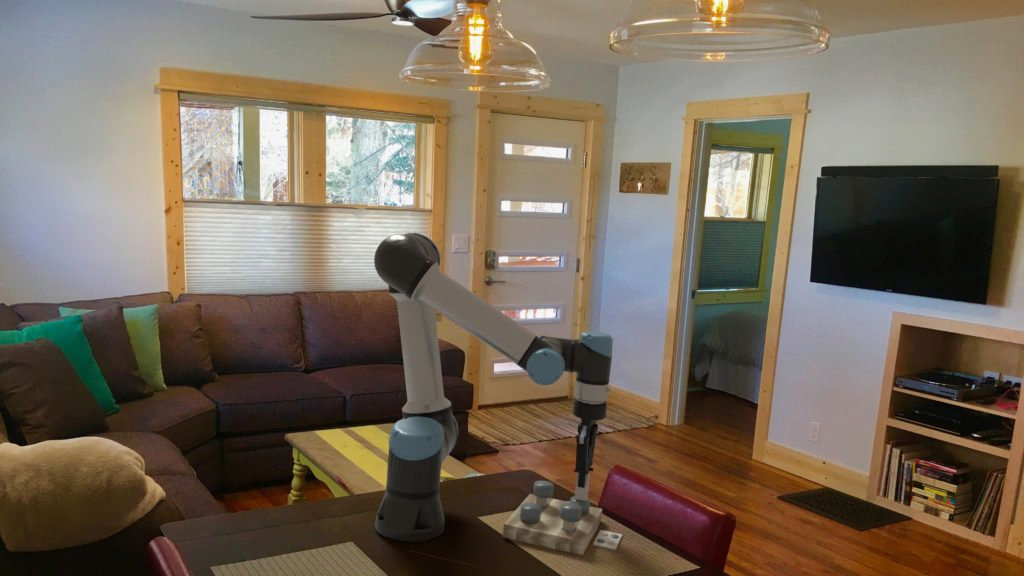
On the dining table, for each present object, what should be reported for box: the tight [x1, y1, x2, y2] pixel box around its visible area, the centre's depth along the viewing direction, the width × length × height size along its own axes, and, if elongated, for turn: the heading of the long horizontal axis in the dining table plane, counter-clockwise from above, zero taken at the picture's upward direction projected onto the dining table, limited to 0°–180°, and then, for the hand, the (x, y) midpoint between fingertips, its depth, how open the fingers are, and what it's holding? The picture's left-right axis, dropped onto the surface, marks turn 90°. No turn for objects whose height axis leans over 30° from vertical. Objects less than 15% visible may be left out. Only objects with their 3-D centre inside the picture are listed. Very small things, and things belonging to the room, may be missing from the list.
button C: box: [560, 503, 582, 532], centre depth 165 cm, size 5×5×6 cm
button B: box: [533, 480, 555, 508], centre depth 177 cm, size 5×5×6 cm
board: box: [502, 493, 603, 556], centre depth 171 cm, size 18×20×3 cm
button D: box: [569, 495, 591, 516], centre depth 174 cm, size 5×5×6 cm
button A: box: [520, 503, 541, 524], centre depth 167 cm, size 5×5×6 cm
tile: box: [592, 529, 623, 551], centre depth 167 cm, size 5×8×1 cm, turn 162°
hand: (580, 498), depth 174 cm, fingers closed
